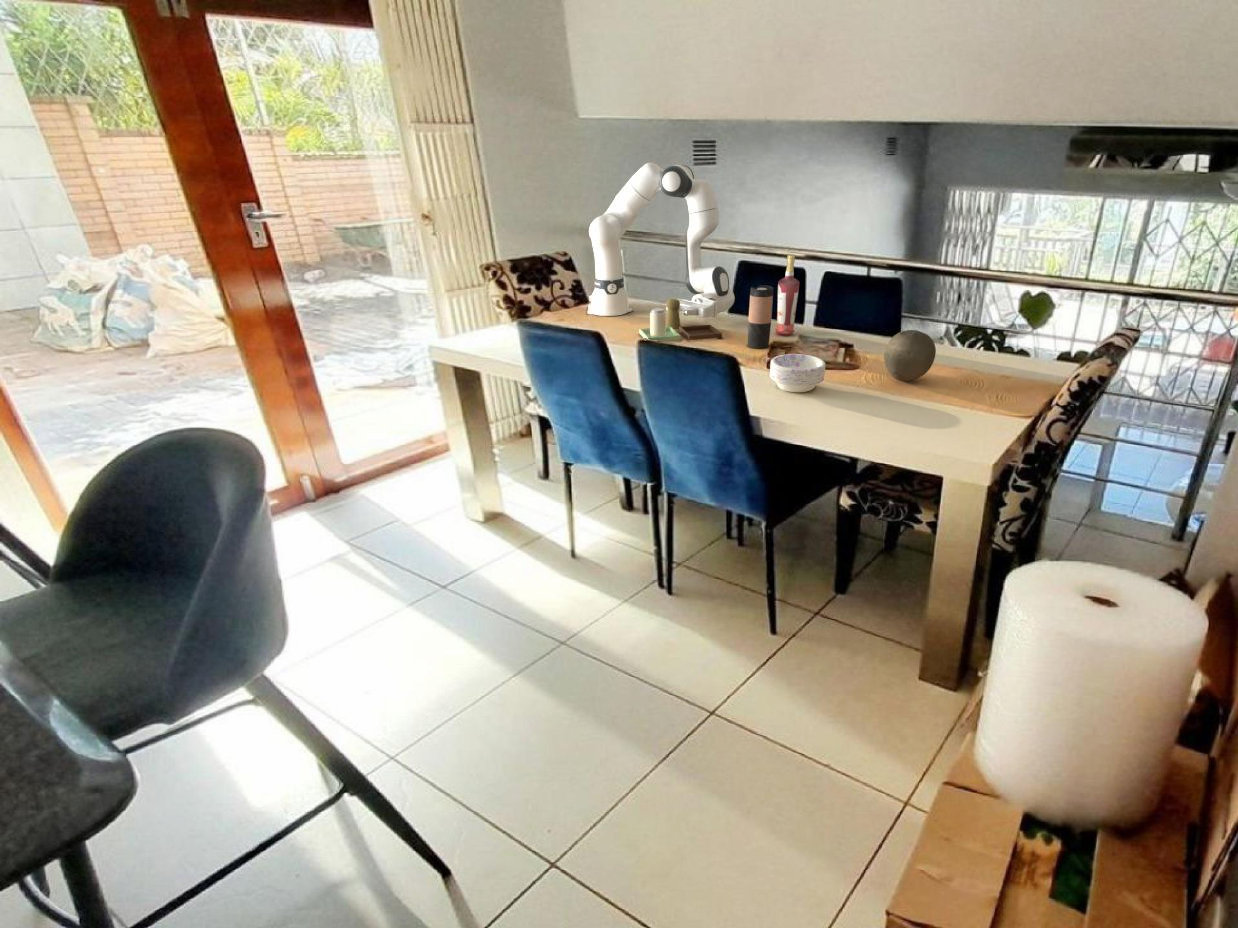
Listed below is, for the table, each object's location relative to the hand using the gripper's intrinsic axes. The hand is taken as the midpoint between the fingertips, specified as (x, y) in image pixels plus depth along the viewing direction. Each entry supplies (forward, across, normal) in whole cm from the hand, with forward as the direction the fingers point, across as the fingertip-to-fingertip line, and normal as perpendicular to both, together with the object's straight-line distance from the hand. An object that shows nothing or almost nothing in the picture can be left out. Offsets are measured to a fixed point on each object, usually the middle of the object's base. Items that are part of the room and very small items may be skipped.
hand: (676, 311), depth 265 cm
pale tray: (+14, +6, +6) cm, 17 cm away
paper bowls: (+24, +73, +6) cm, 78 cm away
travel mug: (-2, +38, +6) cm, 39 cm away
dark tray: (+2, +14, +6) cm, 15 cm away
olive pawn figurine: (+2, 0, +7) cm, 7 cm away
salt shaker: (+15, +6, +6) cm, 18 cm away
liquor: (-21, +35, +6) cm, 41 cm away
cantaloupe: (-3, +92, +6) cm, 92 cm away
